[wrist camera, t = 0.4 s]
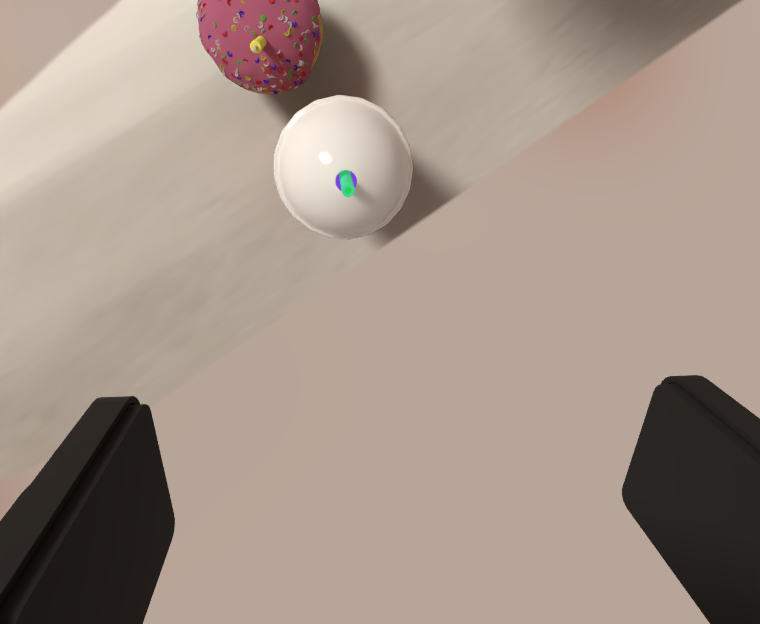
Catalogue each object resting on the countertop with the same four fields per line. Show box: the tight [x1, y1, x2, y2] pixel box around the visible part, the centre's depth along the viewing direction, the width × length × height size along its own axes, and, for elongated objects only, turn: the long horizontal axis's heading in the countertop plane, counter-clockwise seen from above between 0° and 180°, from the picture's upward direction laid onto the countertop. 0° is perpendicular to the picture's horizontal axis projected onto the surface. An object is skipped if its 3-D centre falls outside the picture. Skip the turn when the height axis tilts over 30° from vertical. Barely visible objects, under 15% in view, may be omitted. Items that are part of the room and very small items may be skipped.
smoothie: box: [274, 95, 413, 239], centre depth 32 cm, size 8×8×20 cm
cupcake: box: [196, 0, 323, 94], centre depth 31 cm, size 9×8×12 cm
